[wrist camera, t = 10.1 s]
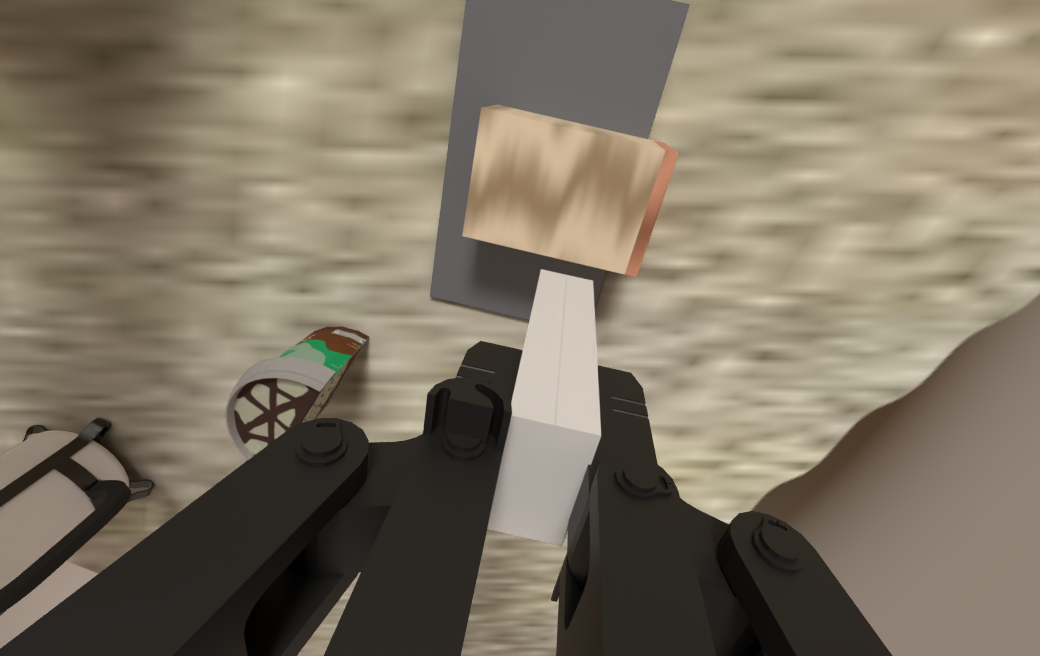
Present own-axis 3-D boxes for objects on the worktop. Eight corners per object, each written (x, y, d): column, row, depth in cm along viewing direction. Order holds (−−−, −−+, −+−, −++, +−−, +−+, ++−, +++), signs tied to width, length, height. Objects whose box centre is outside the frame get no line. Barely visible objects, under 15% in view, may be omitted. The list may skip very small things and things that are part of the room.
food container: (317, 288, 42) (246, 340, 34) (376, 325, 43) (322, 386, 35) (271, 377, 48) (200, 443, 39) (325, 409, 49) (267, 480, 40)
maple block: (663, 143, 33) (497, 104, 33) (678, 153, 28) (481, 107, 28) (628, 250, 37) (480, 214, 37) (636, 277, 31) (462, 235, 32)
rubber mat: (473, -43, 30) (471, -45, 30) (688, 5, 30) (689, 4, 29) (431, 293, 41) (429, 296, 41) (587, 331, 41) (587, 334, 40)
